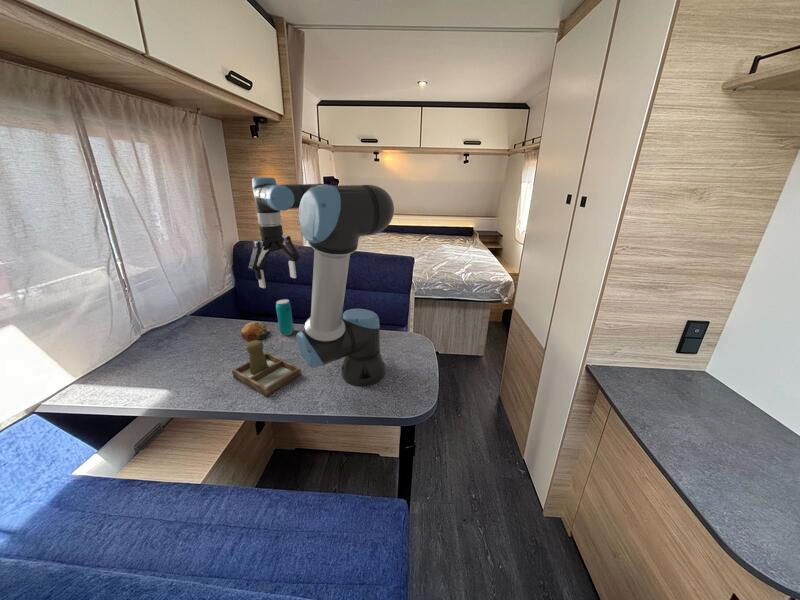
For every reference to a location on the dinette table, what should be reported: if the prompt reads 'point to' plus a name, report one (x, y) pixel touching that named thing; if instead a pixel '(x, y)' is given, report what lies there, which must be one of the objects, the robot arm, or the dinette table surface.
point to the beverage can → (284, 317)
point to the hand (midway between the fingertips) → (278, 282)
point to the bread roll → (253, 331)
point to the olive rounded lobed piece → (256, 357)
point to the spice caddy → (268, 375)
